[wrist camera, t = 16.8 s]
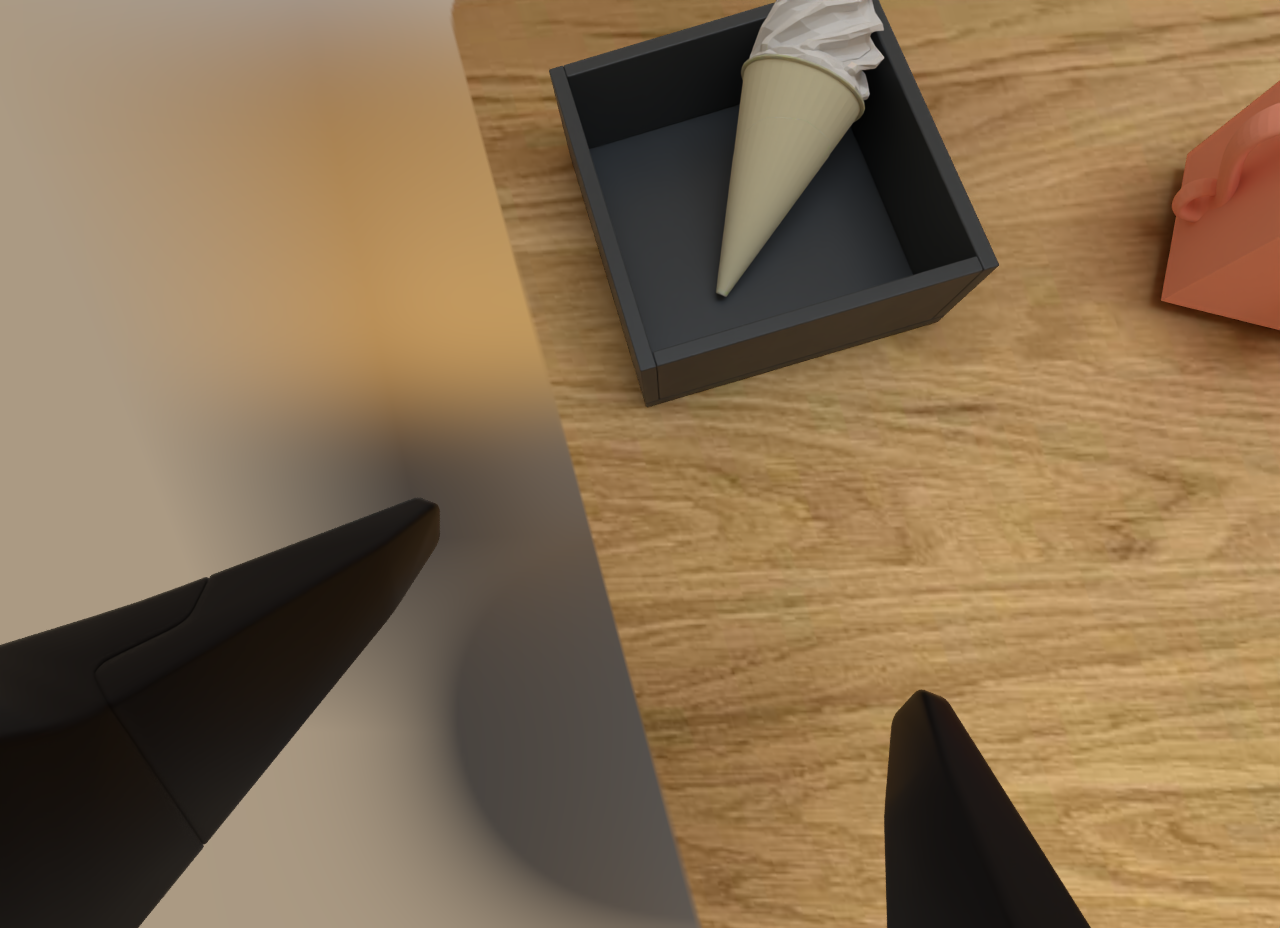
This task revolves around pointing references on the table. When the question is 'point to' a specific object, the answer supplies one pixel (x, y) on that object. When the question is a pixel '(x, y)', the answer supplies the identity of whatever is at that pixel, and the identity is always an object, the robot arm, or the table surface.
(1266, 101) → the teapot
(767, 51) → the ice cream cone
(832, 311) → the storage bin
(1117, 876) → the table surface
